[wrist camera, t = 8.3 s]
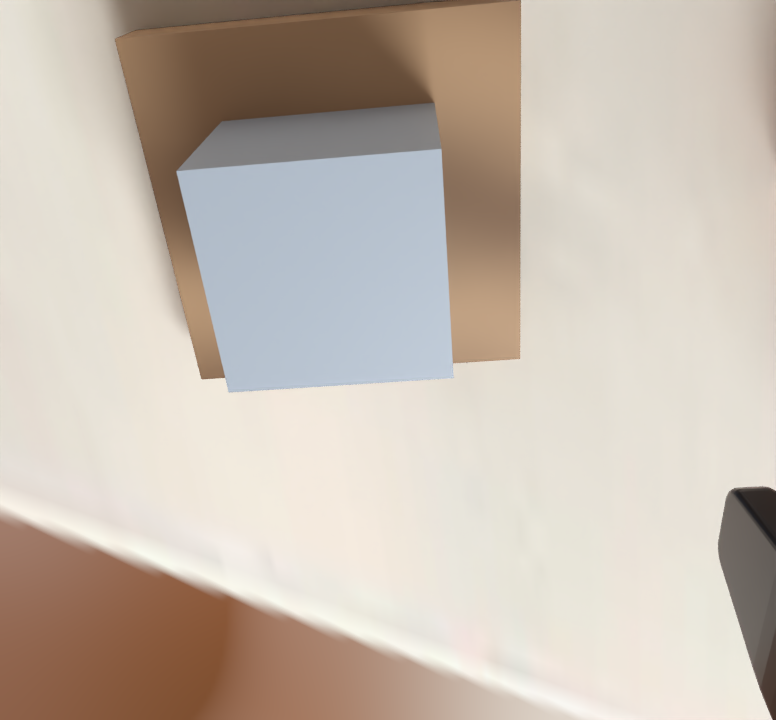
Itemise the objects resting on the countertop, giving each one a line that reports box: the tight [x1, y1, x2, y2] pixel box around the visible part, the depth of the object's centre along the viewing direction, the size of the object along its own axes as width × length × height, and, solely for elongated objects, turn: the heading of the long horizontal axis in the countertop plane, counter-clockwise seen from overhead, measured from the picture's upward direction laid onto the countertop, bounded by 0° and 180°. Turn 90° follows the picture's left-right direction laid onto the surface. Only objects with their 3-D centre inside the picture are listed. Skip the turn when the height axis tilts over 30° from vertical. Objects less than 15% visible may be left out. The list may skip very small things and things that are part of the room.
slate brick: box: [176, 103, 454, 392], centre depth 17 cm, size 5×5×4 cm
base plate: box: [115, 0, 521, 379], centre depth 19 cm, size 9×9×2 cm
